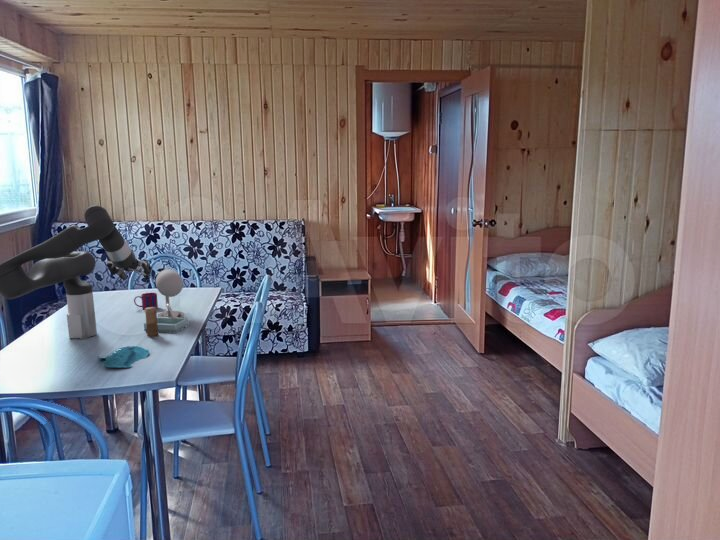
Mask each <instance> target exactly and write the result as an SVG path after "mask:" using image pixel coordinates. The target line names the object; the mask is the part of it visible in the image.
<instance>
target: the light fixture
mask: <svg viewBox="0 0 720 540" xmlns="http://www.w3.org/2000/svg"><path fill="white" fill-rule="evenodd" d="M155 277H156V278H155V286H156V289H157V291H158V292H159V293H160V294H161V295H163V296H165V305H166V309H167V310H166V311H162V312H159V313H158V314H157V317H168V318H172V321H175V320H176V318H185V313H184V312H182V311H178V310H173V309H172V308H171V303H170V298H173V297H176V296H178V295H180V293H181V291H182V290H183V288H184V280H183V277H182V276H181V275H180V274H179V273H178V272H177V271H176V270H174V269H172V268H171V269H170V268H168V269H167V268H166V269H162V270H161V271H159V272H158V274H157V275H156V276H155Z"/></svg>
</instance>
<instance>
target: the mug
mask: <svg viewBox="0 0 720 540" xmlns="http://www.w3.org/2000/svg"><path fill="white" fill-rule="evenodd" d="M137 298H140V299H141V305H139V304H137V303H136V300H137ZM133 301H134V305H135V306H137V307H139V308H142V310H144V311H145V308H147V307H156V310H158V309H159V308H158V307H159V306H158V294H157V293H156V292H145V293H142V294H140V295H137V296H135V297H134V299H133Z"/></svg>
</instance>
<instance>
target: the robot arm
mask: <svg viewBox="0 0 720 540" xmlns="http://www.w3.org/2000/svg"><path fill="white" fill-rule="evenodd" d="M83 216H84V220H85V223H86V224H87V226H86V227H82V228H81V226H79V225H76V224H72V225H70V226H68V227H66V228H64V229H63V230H61V231H60V232H58V233H57V234H55V235H53V236H52V237H50V238H49V239H46V240H45V241H43V242H41V243H39V244H37V245H35V246H33V247H31V248H29V249H27V250H25V251H22V252H20V253H19V254H16V255H14V256H13V257H11V258H9V259H6V260H5V261H3V262H0V295H1V296H2V297H3V298H4V299H6V300H15V299H18V298H20V297H23V296H24V295H28V294H30V293H32V292H35V291H36V290H40V289H42V288H46V287H49V286H53V285H56V284H59V283H62V282H63V287H64V289H65V295H66V305H67V312H68V313H67V314H66V321H67V322H66V323H67V329H68V338H69V337H70V338H69V339H77V338H80V339H79V340H81V339H82V340H83V338H84V339H87V338H91V336H92V337H94V336H96V335H97V334H98V330H97V321H96V320H97V319H96V311H95V301H94V293H93V291H94V290H93V286H92V284H91V283H90V282H87V281H84V280H83V279H80V276H88V275H91V273H93V272H94V270H95V268H96V265H97V264H96V258H95V256H94V255H93V254H92V253H90V252H88V251H76V250H78V249H80V248H81V247H83V246H84V245H87V244H90V243H94V242H96V241H99V244H100V245H101V247H102V248H103V249H104V251H105V253H106V255H107V257H108V259H107V262H106V264H105V265H106V267H107V269H108V271H109V273H110V274H111V275H115V274H116V275H117V276H118V277H119V278H120V279H121V280H122V281H127V277H128V276H127V274H126V272H135V273H136V274H140V275H142V276H143V278H144V280H145V281H149V280H150V279H151V274H152V270H153V267H152V266H151V264H150V263H149V261H148V260H147V259H146V258H144V259H142V260H138V259H137V258H136V254H135V253H134V251H133V250H132V248H131V246H130V244H129V243H128V242H127V241H126V239H125V238H124V237H123V235H122V234H121V232H120V231H119V230H118V228H117V227H116V226H115V224H114V222H113V219H112V218H111V216H110V215H109V212H108V211H107V209H106V208H104V207H103V206H101V205H91V206H89V207H87V209H86V210H85V212H84V215H83ZM37 260H38V261H37ZM32 261H36V262H35V263H34V264H32V266H31V268H30V270H29V274H28V273H27V271H26V270H25V269H24V268H23V264H26V263H28V262H32Z"/></svg>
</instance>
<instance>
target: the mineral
mask: <svg viewBox="0 0 720 540" xmlns="http://www.w3.org/2000/svg"><path fill="white" fill-rule="evenodd" d="M119 349H121V350H118V351H116V350H114V351H115V352H116V353H114V352H111V353H112V355H111V354H109V355H110V356H109V355H107V357H106V356H105V358H104V357H100V356H98V360H101V361H102V360H104V359H105V361H104V362H102V364H101V365H102V366H104V367H105V368H133V364H135V363H136V362H139V361H140V360H145V359H146V358H147V356H148V355H150V350H149V349H146V348H144V347H142V346H138V345H137V346H135V345H131V346H130V345H129V346H124V347H120V348H119ZM99 357H100V358H99Z"/></svg>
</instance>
